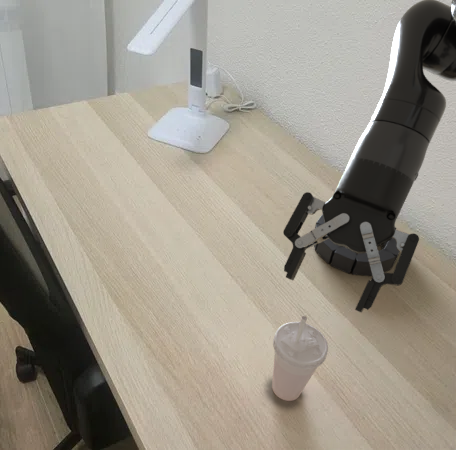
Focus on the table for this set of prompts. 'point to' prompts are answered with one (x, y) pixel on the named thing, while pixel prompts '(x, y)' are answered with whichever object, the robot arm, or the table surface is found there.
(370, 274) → the tire
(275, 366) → the smoothie
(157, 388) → the table surface
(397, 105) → the robot arm
